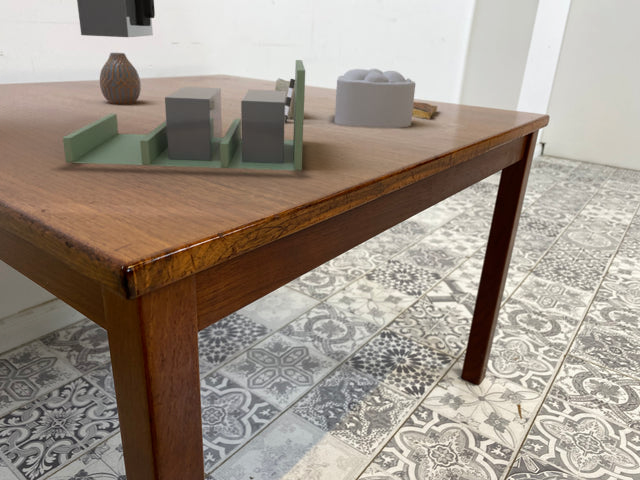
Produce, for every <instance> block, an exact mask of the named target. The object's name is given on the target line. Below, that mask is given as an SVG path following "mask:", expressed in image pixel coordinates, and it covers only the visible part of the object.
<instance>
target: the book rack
mask: <svg viewBox="0 0 640 480" xmlns="http://www.w3.org/2000/svg"><path fill="white" fill-rule="evenodd" d="M294 71H295V72H294V76H295V77H294V80H295V100H294V119H293V133H292V134H293V135H292V137H293V138H292V139H293V140H292V139H284V160H283V163H258V162H242V126H241V118H234V119H233V121H232V123H231V125H230V126H229V128H228V130H227V131H226V133H225V135H224V137H222V142H221V143H220V146H219V147H218V149H217V151H216V152H215V154H214V156H213V158H212V159H211V161H203V160H174V159H169V156H168V140H167V124H166V120H164V122H162V123H161V124H160V125H158V126H157V127H155V128H154V129H153V130H152V131H150V132H149V133H148V134H139V133H137V134H136V133H119V127H118V117H117V113H109V114H107V115H105V116H103V117H101V118H99V119H97V120H95V121H93V122H91V123H89V124H87V125H85V126H83V127H81V128H79V129H77V130H75V131H73V132H71V133H69V134H67V135H65V136H62V143H63V151H64V157H65V162H66V163H70V164H73V163H74V164H97V165H100V164H101V165H127V166H129V165H130V166H154V167H155V166H158V167H184V168H185V167H186V168H187V167H188V168H218V169H243V170H244V169H247V170H248V169H249V170H273V171H274V170H275V171H300V172H301V171H302V170H303V148H304V147H303V145H304V142H303V141H304V122H305V121H304V120H305V119H304V117H305V99H304V95H305V94H306V93H305V91H306V90H305V89H306V69H305V65H304V62H303V60H302V59H296V60H295V70H294Z"/></svg>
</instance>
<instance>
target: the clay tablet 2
mask: <svg viewBox="0 0 640 480" xmlns="http://www.w3.org/2000/svg"><path fill="white" fill-rule="evenodd" d="M285 93H286V92H285V91H274V90H271V89H269V90H268V89H251V88H250V89H247V91H246V93H245V95H244V96H243V98H242V99H241V102H240V103H241V105H240V110H241V111H240V112H241V116H240V117H241V118H240V119H241V138H242V162H258V163H283V160H284V140H285V133H286V132H285V130H286V129H285V128H286V126H285V125H286V123H285Z"/></svg>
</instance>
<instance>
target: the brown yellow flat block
mask: <svg viewBox="0 0 640 480" xmlns="http://www.w3.org/2000/svg"><path fill="white" fill-rule="evenodd" d="M437 110H438V105H433V104H431V103H427V102H419V101H418V102H417V101H414V102H413V111H412V116H414V117H417V118H420V119H421V118H422V119H427V120H430V119H431V117H432V115H433V114H435V113H436V112H437Z"/></svg>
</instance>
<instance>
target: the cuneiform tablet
mask: <svg viewBox="0 0 640 480" xmlns="http://www.w3.org/2000/svg"><path fill="white" fill-rule="evenodd" d="M273 91H285V92H286V93H285V124H287V121H288V120H294V100H295V78H290V80H285V79H283V78H279V77H278V79H276V81H275V85H274V90H273ZM305 97H306V96H305V94H304V100H305Z"/></svg>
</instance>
